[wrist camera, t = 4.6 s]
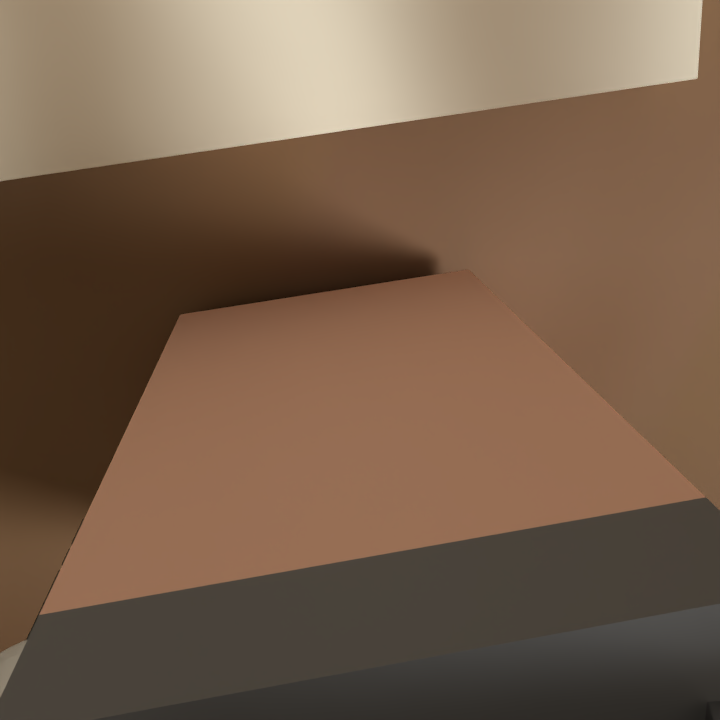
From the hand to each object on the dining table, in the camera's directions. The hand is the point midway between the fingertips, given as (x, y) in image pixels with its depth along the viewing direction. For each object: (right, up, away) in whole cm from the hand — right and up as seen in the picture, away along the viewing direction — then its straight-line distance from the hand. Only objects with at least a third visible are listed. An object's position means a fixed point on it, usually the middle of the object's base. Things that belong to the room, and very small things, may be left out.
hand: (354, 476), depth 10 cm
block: (0, +1, +2) cm, 2 cm away
